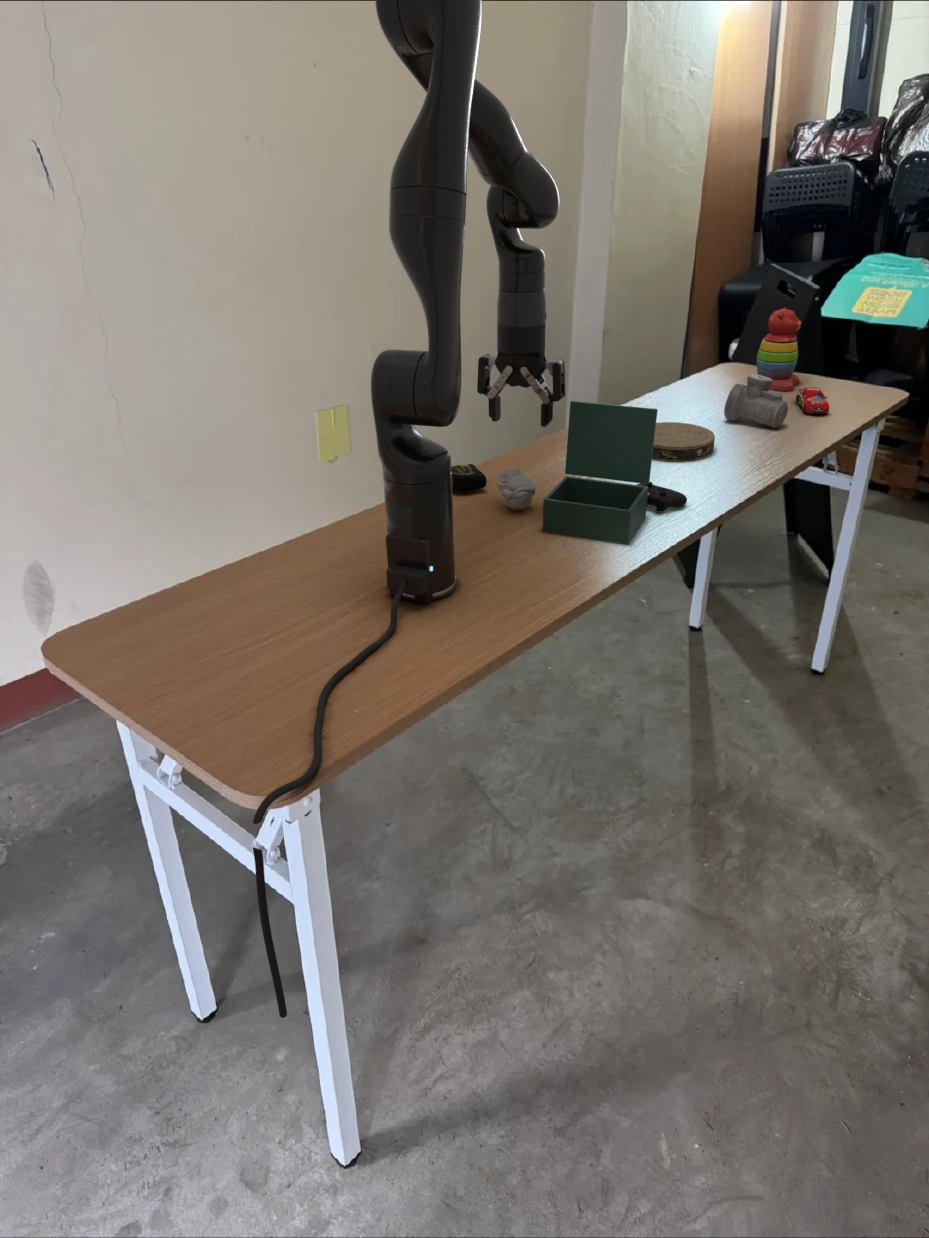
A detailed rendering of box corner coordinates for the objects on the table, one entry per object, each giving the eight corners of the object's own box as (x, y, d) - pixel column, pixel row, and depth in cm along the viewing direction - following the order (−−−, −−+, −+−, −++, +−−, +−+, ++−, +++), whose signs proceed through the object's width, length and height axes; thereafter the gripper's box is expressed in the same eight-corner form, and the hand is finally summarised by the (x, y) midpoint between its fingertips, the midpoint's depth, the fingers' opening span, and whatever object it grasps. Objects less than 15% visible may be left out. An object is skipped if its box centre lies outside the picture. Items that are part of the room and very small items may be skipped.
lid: (656, 409, 136) (657, 408, 136) (570, 401, 141) (571, 400, 142) (648, 484, 140) (649, 483, 141) (564, 473, 146) (566, 473, 146)
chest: (628, 544, 135) (630, 511, 132) (542, 531, 140) (543, 499, 137) (645, 518, 144) (648, 486, 141) (564, 506, 149) (565, 476, 146)
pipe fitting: (718, 420, 187) (730, 373, 182) (734, 415, 192) (747, 369, 187) (769, 437, 181) (784, 389, 175) (785, 431, 186) (800, 384, 181)
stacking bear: (790, 392, 207) (803, 314, 198) (748, 387, 211) (758, 311, 202) (800, 381, 215) (813, 306, 206) (759, 377, 219) (769, 304, 210)
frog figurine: (509, 498, 153) (509, 461, 149) (543, 506, 149) (543, 468, 146) (489, 510, 149) (489, 471, 145) (524, 518, 145) (524, 479, 141)
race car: (830, 417, 189) (833, 399, 187) (804, 416, 190) (807, 398, 188) (818, 400, 200) (821, 383, 198) (793, 399, 201) (796, 382, 199)
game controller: (690, 499, 148) (680, 482, 143) (676, 526, 147) (665, 511, 142) (642, 486, 154) (630, 470, 149) (629, 512, 153) (616, 497, 148)
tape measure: (488, 492, 156) (488, 473, 154) (451, 498, 154) (451, 478, 152) (476, 480, 161) (475, 461, 159) (440, 485, 160) (440, 465, 158)
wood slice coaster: (701, 434, 181) (702, 420, 179) (722, 460, 167) (724, 445, 165) (625, 437, 180) (626, 423, 179) (640, 463, 167) (642, 448, 165)
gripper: (469, 321, 133) (471, 425, 141) (557, 327, 128) (554, 434, 136) (488, 313, 139) (489, 413, 147) (572, 318, 134) (569, 421, 142)
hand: (520, 423), depth 141 cm, fingers open, 8 cm apart
